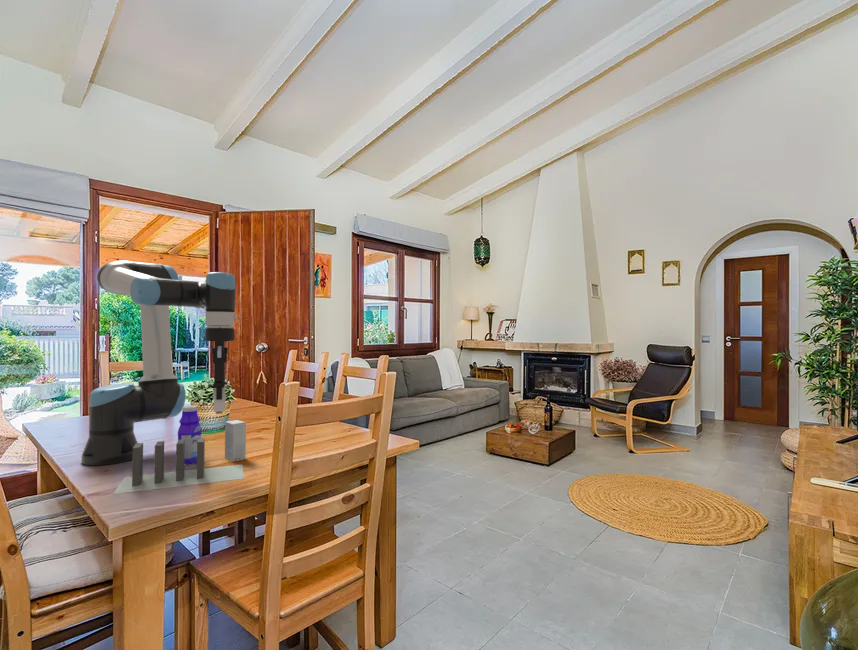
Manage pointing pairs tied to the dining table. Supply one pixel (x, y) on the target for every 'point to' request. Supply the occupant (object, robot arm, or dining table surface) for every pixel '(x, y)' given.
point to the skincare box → (235, 440)
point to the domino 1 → (137, 464)
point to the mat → (189, 479)
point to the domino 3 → (180, 460)
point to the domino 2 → (159, 462)
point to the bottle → (190, 432)
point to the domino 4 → (200, 457)
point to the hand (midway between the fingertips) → (219, 409)
